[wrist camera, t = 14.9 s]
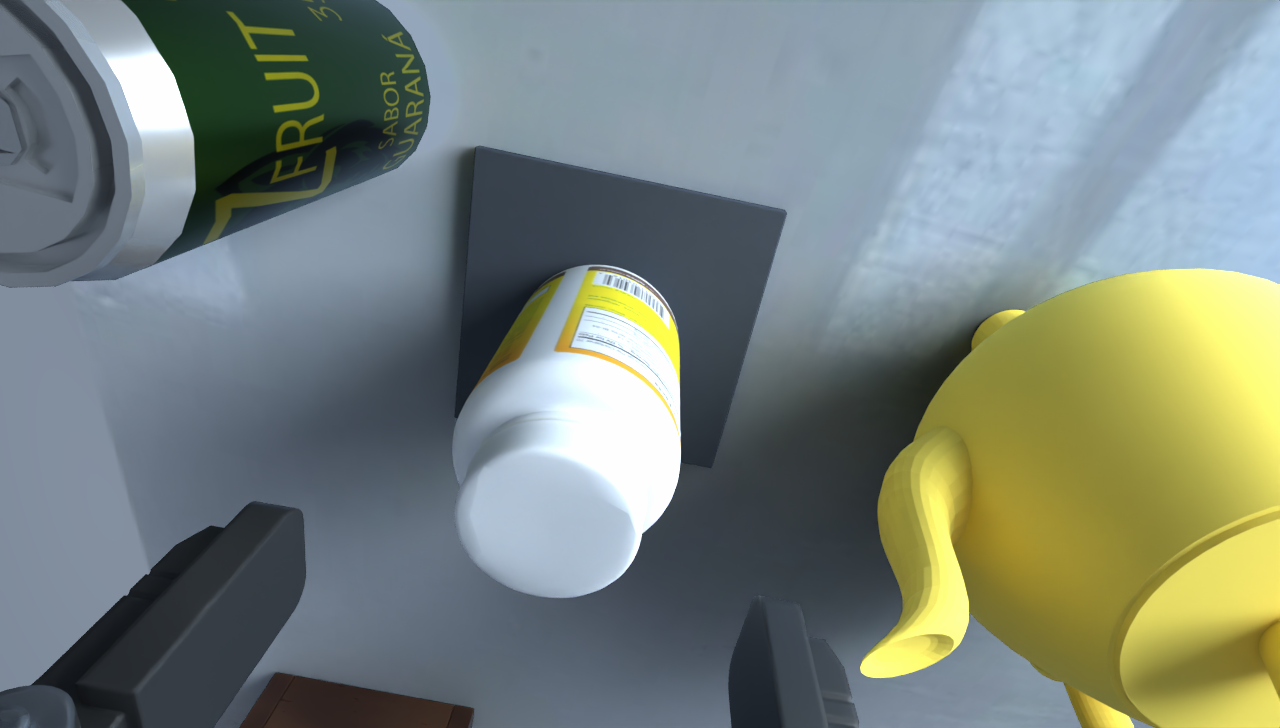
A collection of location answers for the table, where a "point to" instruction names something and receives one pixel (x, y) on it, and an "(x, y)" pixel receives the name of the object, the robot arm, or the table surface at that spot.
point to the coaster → (628, 239)
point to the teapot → (1105, 501)
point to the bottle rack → (347, 707)
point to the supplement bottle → (571, 435)
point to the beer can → (188, 123)
